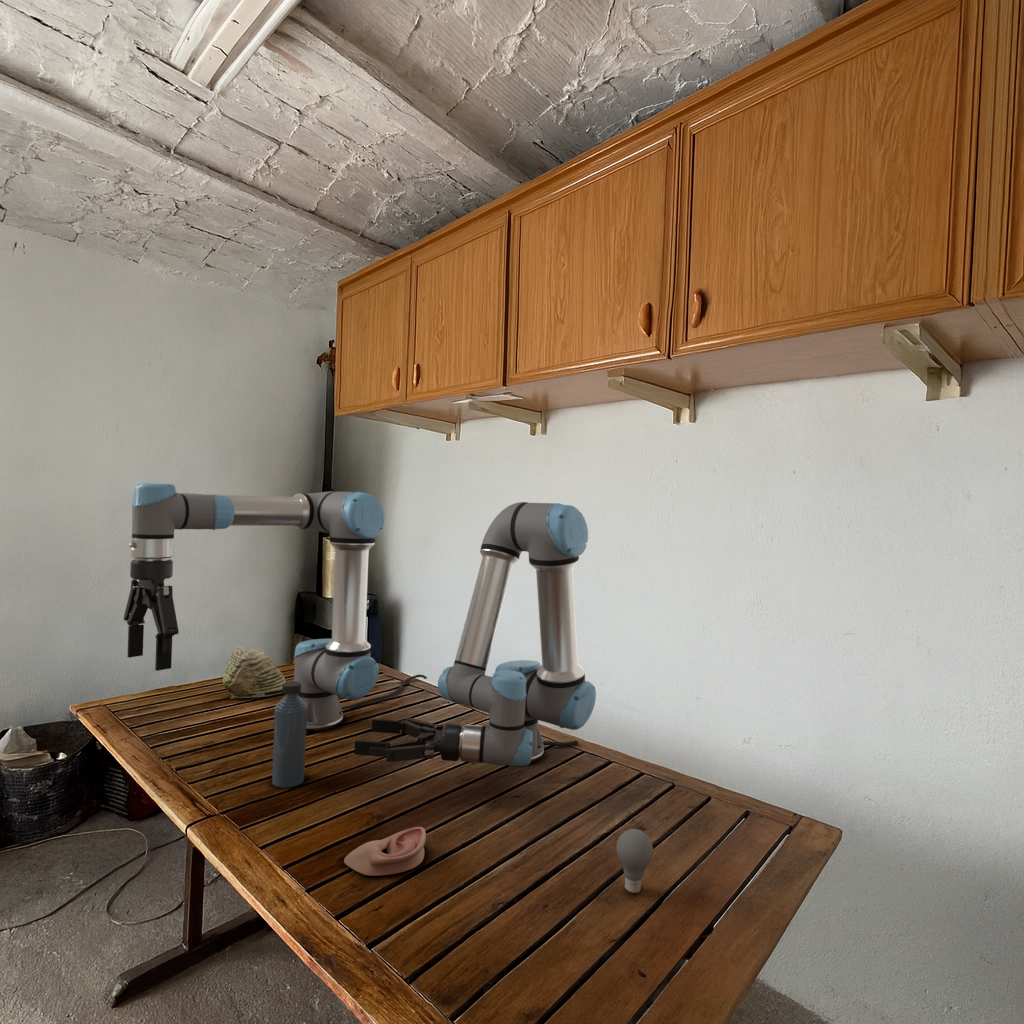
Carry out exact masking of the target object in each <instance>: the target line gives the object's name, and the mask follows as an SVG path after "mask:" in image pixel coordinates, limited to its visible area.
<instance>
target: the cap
mask: <svg viewBox="0 0 1024 1024" xmlns="http://www.w3.org/2000/svg"><path fill="white" fill-rule="evenodd" d="M282 692H283V693H282V694H284V695H285V694H297V693H300V692H301V683H300V682H296V681H294V680H293V681H292V680H291V681H286V682H285V683H283V686H282Z"/></svg>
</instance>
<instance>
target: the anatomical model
mask: <svg viewBox="0 0 1024 1024" xmlns="http://www.w3.org/2000/svg"><path fill="white" fill-rule="evenodd" d="M426 839H427V834H426V829H425V827H423V826H415V827H411V828H407V829H404V830H401V831H398V832H396V833H394V834H392V835H389V836H387V837H385V838H383V839H376V840H370V841H368V842H365V843H363V844H361V845H359V846H357V847H356V848H355V849H353V850H352V851H350V852H349V853H348V854H347V855H346V856H345V857H344V859H343V863H344V865H346V866H347V867H348V868H350V869H352V870H353V871H355V872H356V873H359V874H361V875H364V876H369V877H377V876H389V875H394V874H395V875H396V874H399V873H403V872H407V871H409V870H412V869H414V868H416V867H418V866H419V865H421V863H422V862H423V860H424V859H425V848H424V846H425V844H426Z"/></svg>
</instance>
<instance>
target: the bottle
mask: <svg viewBox="0 0 1024 1024" xmlns="http://www.w3.org/2000/svg"><path fill="white" fill-rule="evenodd" d="M273 714H274V715H273V716H274V717H273V718H274V719H273V742H272V743H273V745H272V770H271V771H272V772H271V784H272V785H273V786H274V787H277V788H283V789H284V788H285V789H286V788H294V787H296V786H299V785H300V784H302V783H303V782H304V781H305V772H306V771H305V769H306V745H307V744H306V743H307V732H306V721H307V705H306V703H305V702H304V701H303V700H302V699H301V698H300V697H299V696H298V693H297V694H284V696H283V697H282V698H281V699H280V700H279V701H278V703H277V704H275V706H274V713H273Z"/></svg>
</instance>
